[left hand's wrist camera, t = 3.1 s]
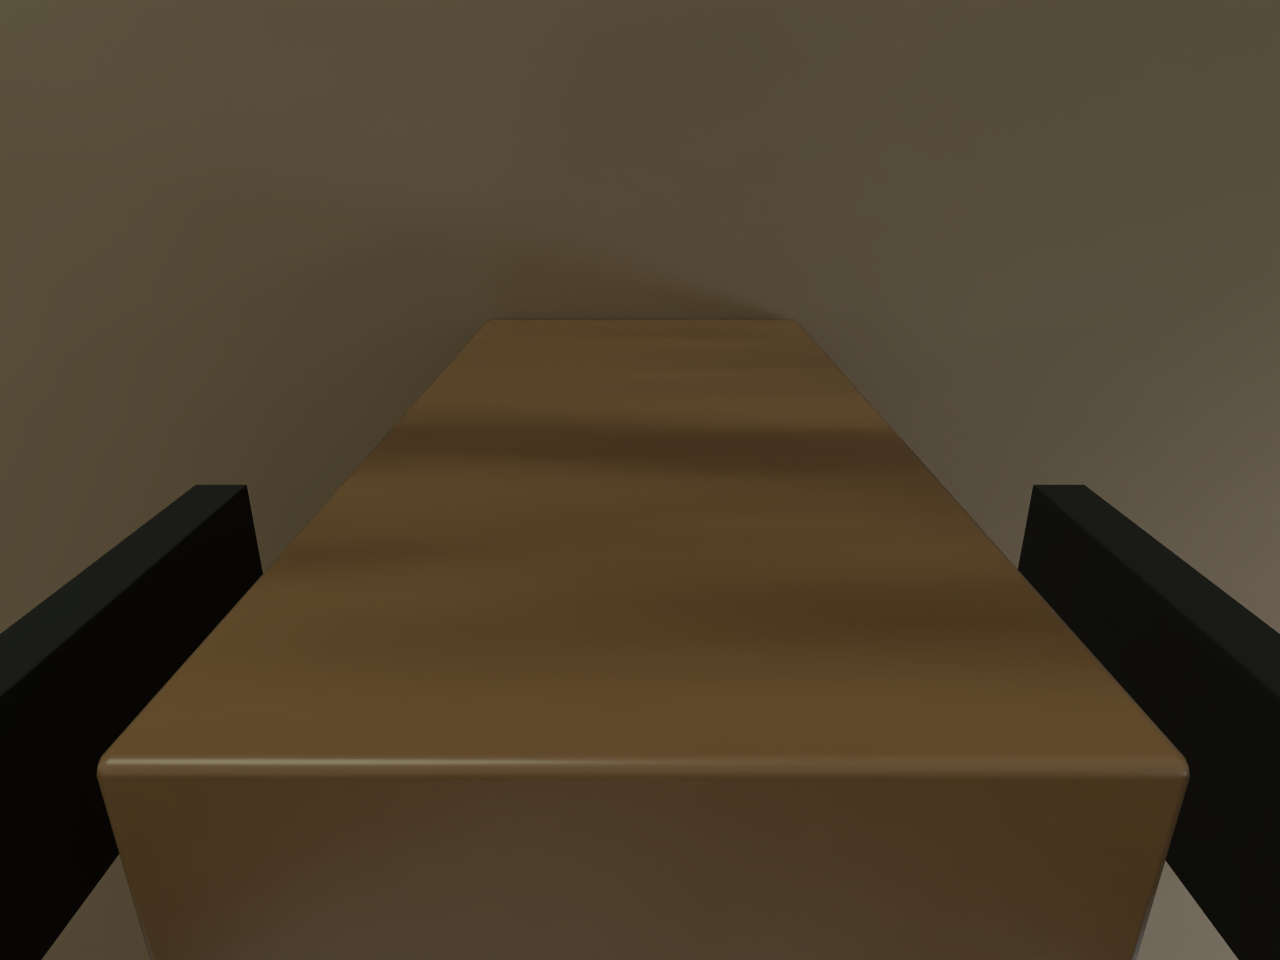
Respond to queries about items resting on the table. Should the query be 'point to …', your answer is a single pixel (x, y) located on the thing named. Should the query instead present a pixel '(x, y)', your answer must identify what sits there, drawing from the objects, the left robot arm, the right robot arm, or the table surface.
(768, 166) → the table surface
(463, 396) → the box
